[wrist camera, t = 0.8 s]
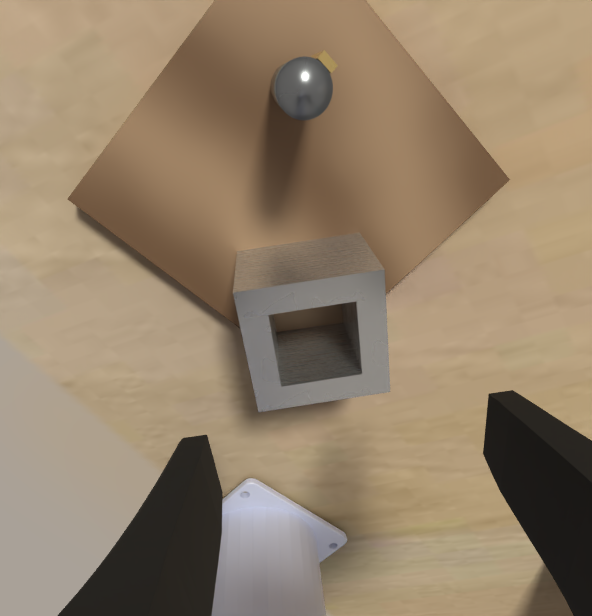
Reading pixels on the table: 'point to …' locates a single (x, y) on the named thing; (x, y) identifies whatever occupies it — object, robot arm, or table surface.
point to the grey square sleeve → (320, 339)
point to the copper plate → (286, 152)
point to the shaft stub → (304, 85)
